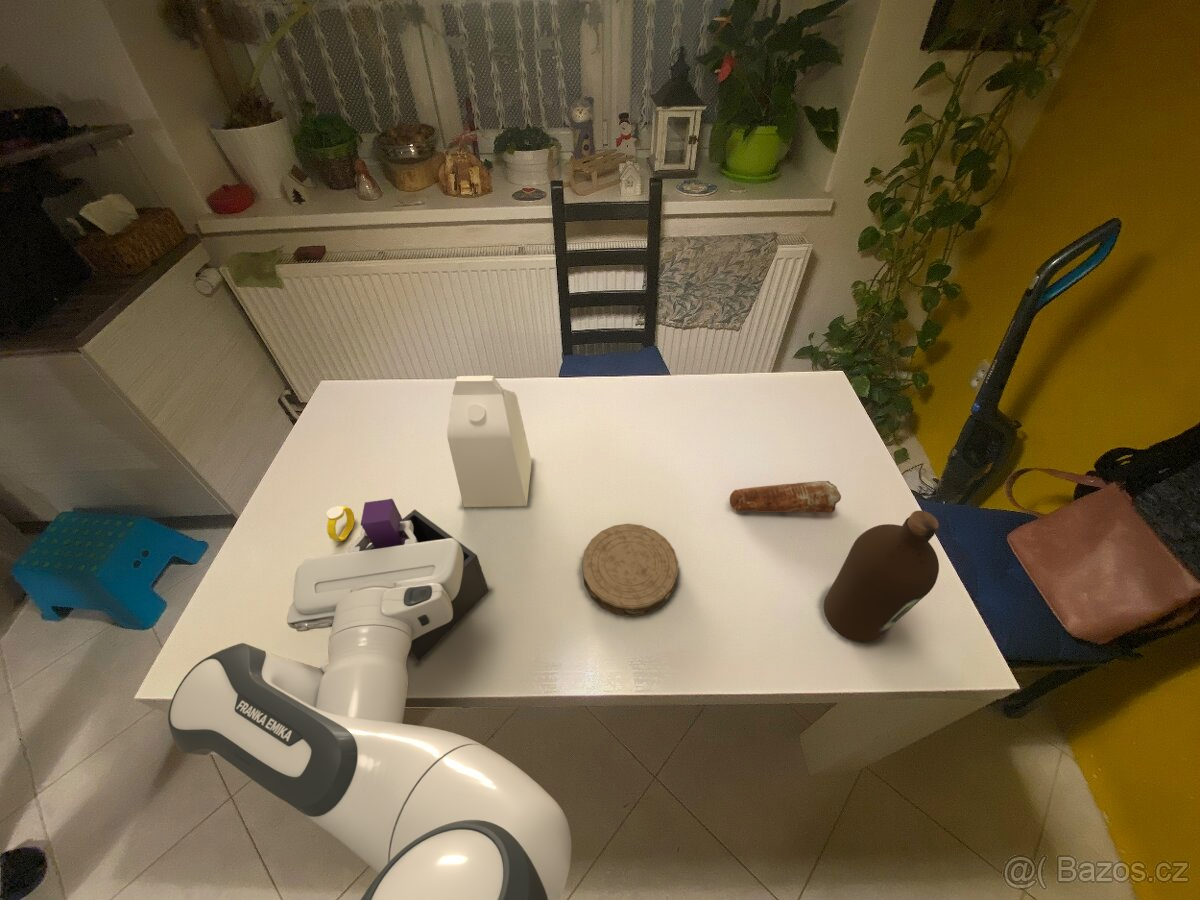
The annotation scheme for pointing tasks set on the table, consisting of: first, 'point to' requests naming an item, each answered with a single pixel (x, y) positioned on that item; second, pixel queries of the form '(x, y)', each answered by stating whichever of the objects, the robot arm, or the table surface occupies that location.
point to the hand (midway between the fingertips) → (388, 525)
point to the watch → (334, 515)
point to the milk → (488, 444)
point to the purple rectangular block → (382, 523)
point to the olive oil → (883, 578)
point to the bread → (787, 498)
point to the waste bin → (469, 589)
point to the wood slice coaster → (629, 569)
